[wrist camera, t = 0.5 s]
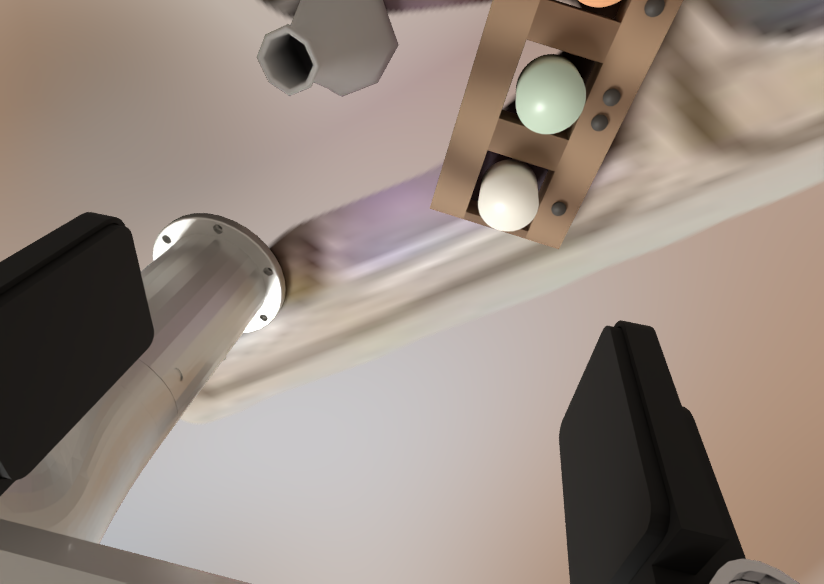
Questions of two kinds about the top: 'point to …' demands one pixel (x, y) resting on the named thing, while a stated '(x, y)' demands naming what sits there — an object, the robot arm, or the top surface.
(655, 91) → the top surface
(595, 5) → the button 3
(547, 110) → the button
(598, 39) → the panel
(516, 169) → the button
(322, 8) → the flask
